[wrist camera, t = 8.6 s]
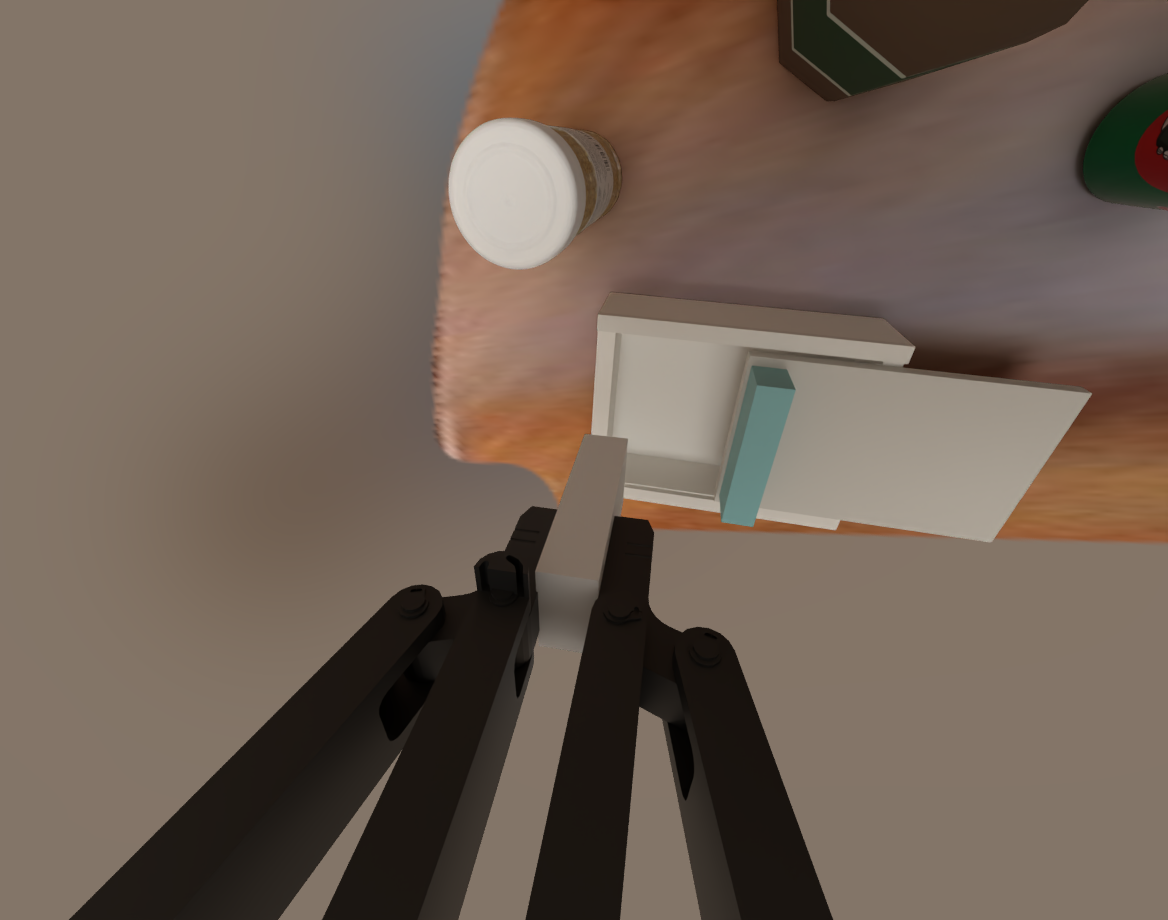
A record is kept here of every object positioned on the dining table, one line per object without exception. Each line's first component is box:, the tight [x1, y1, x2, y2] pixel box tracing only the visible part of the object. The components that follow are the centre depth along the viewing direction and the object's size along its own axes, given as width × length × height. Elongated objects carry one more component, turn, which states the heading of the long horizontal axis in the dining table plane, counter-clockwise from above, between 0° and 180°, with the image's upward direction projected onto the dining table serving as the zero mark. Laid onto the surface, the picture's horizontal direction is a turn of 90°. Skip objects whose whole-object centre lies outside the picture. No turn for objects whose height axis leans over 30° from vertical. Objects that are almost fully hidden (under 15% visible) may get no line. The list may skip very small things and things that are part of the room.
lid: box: [714, 351, 1092, 542], centre depth 26 cm, size 16×10×3 cm, turn 87°
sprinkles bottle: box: [449, 118, 622, 270], centre depth 22 cm, size 5×5×14 cm
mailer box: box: [591, 292, 915, 530], centre depth 31 cm, size 16×12×5 cm
